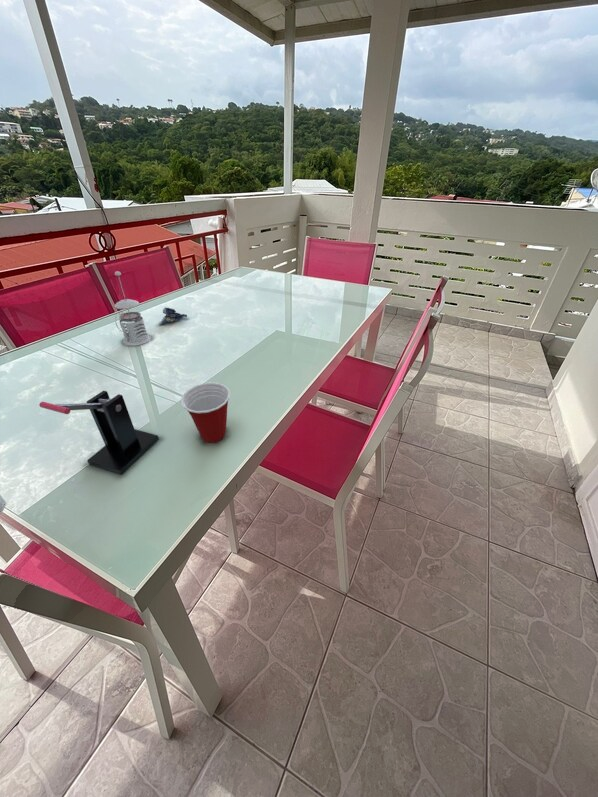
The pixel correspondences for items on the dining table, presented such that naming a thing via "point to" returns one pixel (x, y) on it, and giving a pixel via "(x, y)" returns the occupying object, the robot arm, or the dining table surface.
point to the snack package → (171, 315)
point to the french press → (131, 336)
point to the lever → (74, 406)
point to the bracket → (118, 436)
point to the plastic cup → (208, 409)
